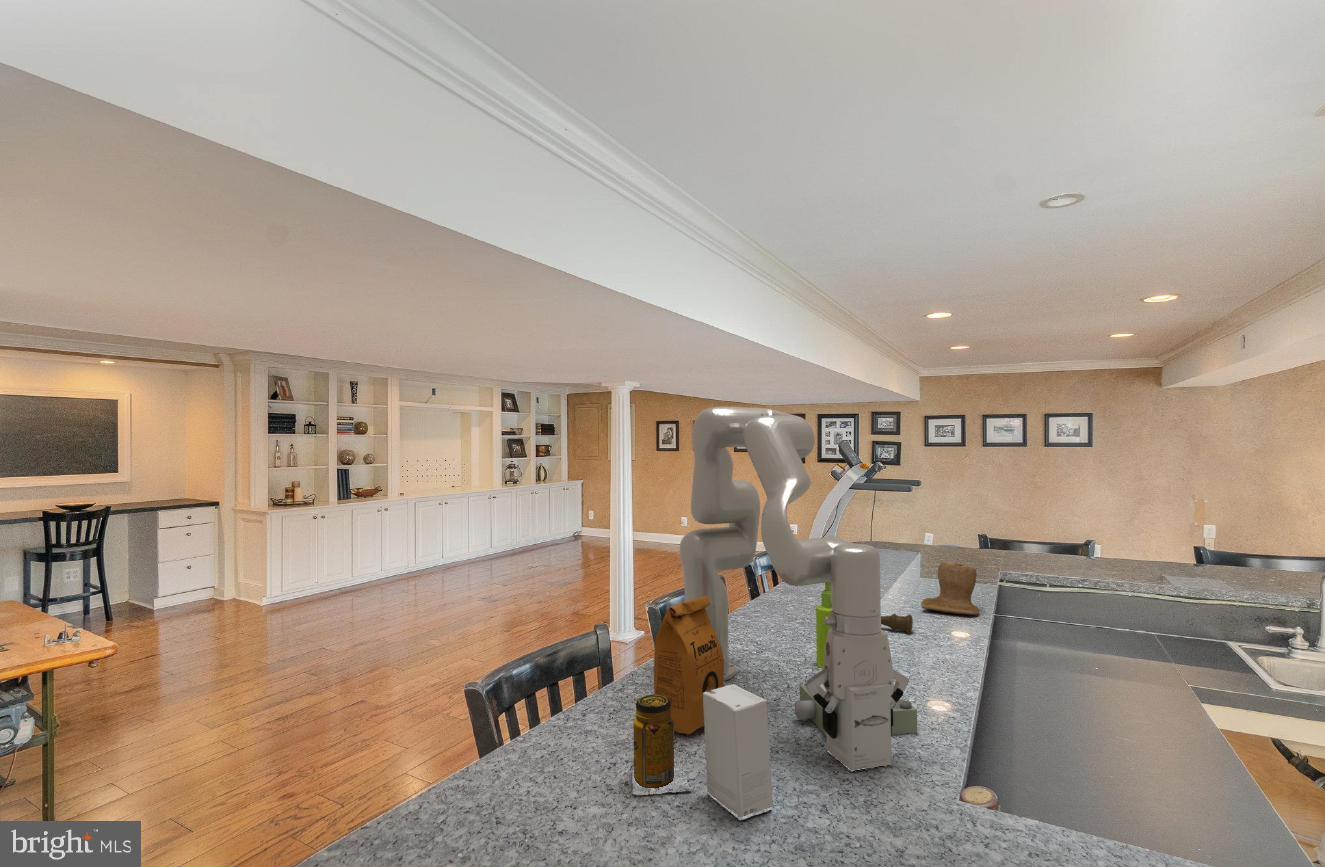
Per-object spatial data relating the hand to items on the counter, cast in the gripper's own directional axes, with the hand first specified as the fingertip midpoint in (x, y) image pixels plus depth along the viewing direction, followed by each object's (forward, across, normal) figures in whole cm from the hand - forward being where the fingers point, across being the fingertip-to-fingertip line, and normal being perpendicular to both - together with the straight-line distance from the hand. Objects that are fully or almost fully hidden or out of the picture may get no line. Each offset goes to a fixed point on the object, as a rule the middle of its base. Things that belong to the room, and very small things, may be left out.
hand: (858, 732), depth 98 cm
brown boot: (+4, +67, +80) cm, 104 cm away
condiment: (+4, -32, -2) cm, 32 cm away
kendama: (+5, +36, +67) cm, 76 cm away
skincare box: (+4, -22, -9) cm, 24 cm away
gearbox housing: (+4, +4, +14) cm, 15 cm away
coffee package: (+4, -24, +17) cm, 30 cm away
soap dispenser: (+4, +13, +41) cm, 43 cm away
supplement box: (+4, 0, 0) cm, 4 cm away
